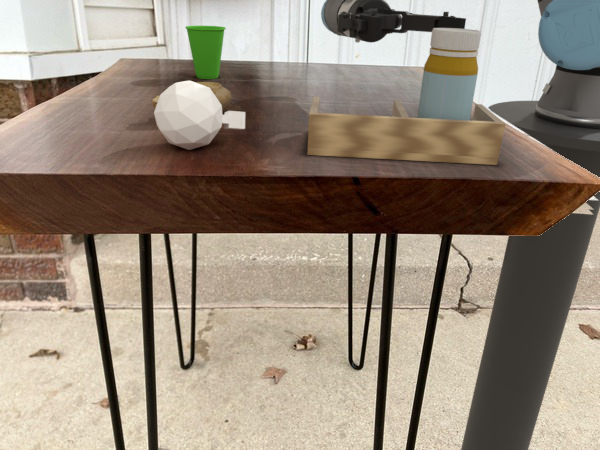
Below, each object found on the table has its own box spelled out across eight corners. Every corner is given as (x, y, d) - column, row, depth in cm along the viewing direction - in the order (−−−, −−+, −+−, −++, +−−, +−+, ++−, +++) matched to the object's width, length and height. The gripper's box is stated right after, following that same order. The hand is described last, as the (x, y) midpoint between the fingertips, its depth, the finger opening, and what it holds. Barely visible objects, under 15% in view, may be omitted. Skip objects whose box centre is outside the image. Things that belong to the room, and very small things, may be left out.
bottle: (465, 139, 77) (484, 29, 70) (464, 152, 71) (484, 33, 64) (417, 133, 78) (431, 26, 72) (411, 146, 72) (426, 30, 66)
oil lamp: (149, 125, 82) (146, 92, 79) (179, 106, 94) (177, 77, 92) (216, 129, 81) (215, 96, 78) (237, 109, 94) (236, 80, 91)
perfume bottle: (159, 147, 65) (252, 151, 70) (159, 71, 64) (253, 80, 69) (148, 149, 73) (233, 153, 77) (149, 81, 72) (234, 90, 77)
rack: (475, 140, 80) (482, 104, 78) (497, 165, 69) (505, 123, 67) (311, 132, 81) (313, 96, 79) (307, 155, 70) (309, 114, 68)
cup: (229, 80, 120) (228, 29, 116) (189, 80, 118) (186, 28, 114) (224, 74, 128) (223, 25, 124) (186, 74, 126) (183, 25, 121)
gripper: (424, 40, 100) (490, 54, 82) (298, 40, 94) (339, 55, 75) (429, -3, 97) (499, 1, 79) (299, -6, 91) (342, -3, 72)
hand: (421, 27), depth 77 cm, fingers open, 13 cm apart
